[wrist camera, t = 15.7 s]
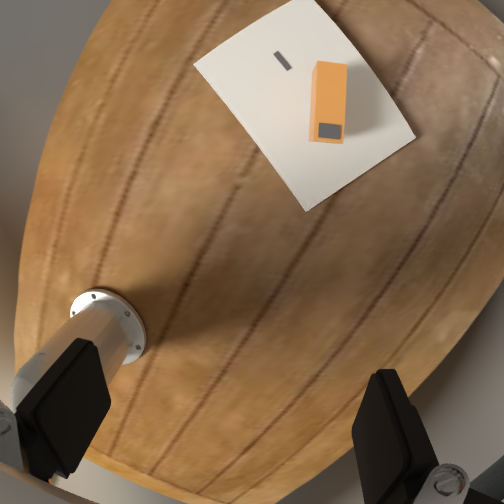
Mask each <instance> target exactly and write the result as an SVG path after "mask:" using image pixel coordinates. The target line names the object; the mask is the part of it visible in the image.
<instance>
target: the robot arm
mask: <svg viewBox="0 0 504 504" xmlns="http://www.w3.org/2000/svg"><path fill="white" fill-rule="evenodd" d="M145 345H146V331H145V327H144V325H143V322H142V320H141V318H140V316H139V315H138V313H137V312H136V311H135V309H134V308H133V307H132V306H131V305H130V304H129V303H128V302H127V301H126V300H125V299H123V298H122V297H120V296H119V295H117V294H115V293H113V292H111V291H108V290H105V289H89V290H87V291H84V292H83V293H81V294H80V295H79V296H78V297H77V298H76V299H75V300H74V302H73V304H72V307H71V313H70V319H69V320H68V321H67V322H66V323H65V324H64V325H63V326H62V327H61V328H60V329H59V330H58V331H57V332H56V333H55V334H54V335H53V336H52V337H51V338H50V339H49V340H48V341H47V342H46V343H45V344H44V345H43V346H42V347H41V348H40V349H39V350H38V351H37V352H36V353H35V354H34V355H33V356H32V357H31V358H30V359H29V360H28V361H27V362H26V363H25V364H24V365H23V366H22V368H21V369H20V370H19V371H18V372H17V374H16V376H15V378H14V381H13V384H12V390H11V410H10V409H9V408H8V407H7V406H5V405H4V403H3V402H2V401H1V400H0V504H99V503H95V502H93V501H90V500H88V499H85V498H82V497H80V496H77V495H75V494H72V493H70V492H68V491H65V490H63V489H60V488H58V485H59V481H60V477H63V478H65V479H67V478H68V477H69V475H70V473H74V472H75V471H76V469H77V467H78V465H79V463H80V461H81V460H82V458H83V456H84V454H85V452H86V450H87V448H88V447H89V445H90V443H91V441H92V439H93V437H94V436H95V434H96V432H97V430H98V428H99V427H100V425H101V423H102V421H103V419H104V418H105V416H106V414H107V412H108V410H109V409H110V406H111V398H110V395H109V391H108V388H107V387H108V385H109V384H110V382H111V381H112V379H113V377H114V376H115V374H116V373H117V371H118V370H119V368H120V367H121V365H124V364H129V363H132V362H134V361H135V360H137V359H138V358H139V357H140V355H141V354H142V352H143V350H144V348H145ZM352 439H353V444H354V449H355V454H356V459H357V464H358V469H359V475H360V480H361V486H362V492H363V497H364V503H365V504H504V503H503V502H501V501H499V500H496V499H494V498H492V497H489V496H487V495H485V494H482V493H480V492H478V491H476V490H474V489H471V488H469V485H470V481H469V477H468V475H467V473H466V472H465V471H464V470H463V469H462V468H461V467H459V466H457V465H455V464H450V463H449V464H448V463H446V464H441V465H439V463H438V460H437V457H436V455H435V452H434V450H433V447H432V445H431V442H430V440H429V438H428V435H427V433H426V430H425V428H424V425H423V423H422V421H421V418H420V416H419V414H418V412H417V409H416V408H415V406H413V405H411V403H410V401H409V399H408V397H407V394H406V392H405V390H404V387H403V385H402V383H401V381H400V378H399V376H398V374H397V372H396V370H395V369H379V370H377V372H376V374H372V375H371V377H370V380H369V383H368V386H367V389H366V391H365V394H364V397H363V400H362V402H361V405H360V408H359V410H358V413H357V415H356V418H355V421H354V423H353V426H352Z"/></svg>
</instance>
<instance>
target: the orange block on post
mask: <svg viewBox="0 0 504 504" xmlns="http://www.w3.org/2000/svg"><path fill="white" fill-rule="evenodd" d="M346 82H347V64H340V63H333V62H325V61H317V62H316V65H315V67H314V69H313V71H312V83H311V105H310V123H309V139H308V141H313V142H323V143H332V144H343V140H344V125H345V106H346Z"/></svg>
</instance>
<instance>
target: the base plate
mask: <svg viewBox="0 0 504 504" xmlns="http://www.w3.org/2000/svg"><path fill="white" fill-rule="evenodd" d="M317 61H325V62H333V63H340V64H347V82H346V106H345V125H344V140H343V144H332V143H323V142H313V141H308V139H309V123H310V105H311V83H312V71H313V69H314V67H315V65H316V62H317ZM193 65H194V66H195V67H196V68H197V69H198V71H199V72H200V73H201V74H202V75H203V77H204V78H205V79H206V80H207V81H208V83H209V84H210V85H211V86H212V88H213V89H214V90H215V91H216V93H217V94H218V95H219V96H220V98H221V99H222V100H223V101H224V103H225V104H226V105H227V106H228V108H229V109H230V110H231V111H232V113H233V114H234V115H235V116H236V118H237V119H238V120H239V122H240V123H241V124H242V125H243V127H244V128H245V129H246V131H247V132H248V133H249V135H250V136H251V137H252V139H253V140H254V141H255V143H256V144H257V145H258V146H259V148H260V149H261V150H262V152H263V153H264V155H265V156H266V157H267V159H268V160H269V161H270V163H271V164H272V165H273V167H274V168H275V169H276V171H277V172H278V174H279V175H280V176H281V178H282V179H283V180H284V182H285V183H286V185H287V186H288V187H289V189H290V190H291V192H292V193H293V195H294V196H295V197H296V199H297V200H298V202H299V203H300V204H301V206H302V207H303V209H304V210H305V212H307V211H308V210H310V209H311V208H313V207H314V206H315V205H317V204H318V203H320V202H321V201H323V200H324V199H326V198H327V197H329V196H330V195H332V194H333V193H335V192H336V191H338V190H339V189H341V188H342V187H344V186H345V185H347V184H348V183H350V182H351V181H353V180H354V179H355V178H357V177H358V176H360V175H361V174H363V173H364V172H366V171H367V170H369V169H370V168H372V167H373V166H375V165H376V164H378V163H379V162H381V161H382V160H384V159H385V158H387V157H388V156H390V155H391V154H393V153H394V152H396V151H397V150H399V149H400V148H402V147H403V146H405V145H406V144H407V143H409V142H410V141H412V140H413V139H415V138H416V137H415V135H414V133H413V132H412V130H411V128H410V127H409V125H408V123H407V122H406V120H405V118H404V117H403V115H402V114H401V112H400V110H399V109H398V107H397V106H396V104H395V103H394V101H393V100H392V98H391V97H390V95H389V94H388V92H387V91H386V89H385V88H384V86H383V85H382V83H381V82H380V80H379V79H378V78H377V76H376V75H375V73H374V72H373V71H372V69H371V68H370V67H369V65H368V64H367V63H366V61H365V60H364V59H363V57H362V56H361V55H360V53H359V52H358V51H357V50H356V48H355V47H354V46H353V45H352V43H351V42H350V41H349V40H348V38H347V37H346V36H345V35H344V34H343V32H342V31H341V30H340V29H339V28H338V26H337V25H336V24H335V23H334V22H333V21H332V19H331V18H330V17H329V16H328V15H327V14H326V13H325V12H324V11H323V9H322V8H321V7H320V6H319V5H318V4H317V3H316V2H315V1H314V0H292V1H290V2H288V3H286V4H285V5H283V6H281V7H279V8H277V9H276V10H274V11H272V12H271V13H269V14H267V15H265V16H264V17H262V18H261V19H259V20H257V21H256V22H254V23H252V24H251V25H249V26H248V27H246V28H245V29H243V30H241V31H240V32H238V33H237V34H235V35H234V36H232V37H231V38H229V39H228V40H226V41H225V42H224V43H222V44H221V45H219V46H218V47H216V48H215V49H214V50H212V51H211V52H209V53H208V54H207V55H205V56H204V57H203V58H201V59H200V60H199V61H197V62H196V63H195V64H193Z"/></svg>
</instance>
